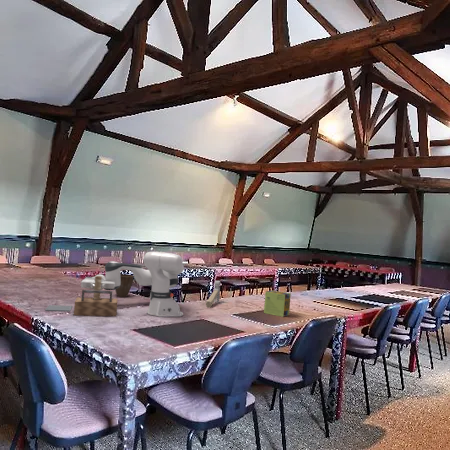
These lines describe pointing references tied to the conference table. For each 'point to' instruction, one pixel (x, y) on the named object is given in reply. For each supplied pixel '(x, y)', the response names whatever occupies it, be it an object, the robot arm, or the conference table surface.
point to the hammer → (214, 295)
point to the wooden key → (97, 287)
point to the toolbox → (95, 305)
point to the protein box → (277, 303)
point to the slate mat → (58, 308)
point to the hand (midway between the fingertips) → (97, 286)
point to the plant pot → (124, 285)
